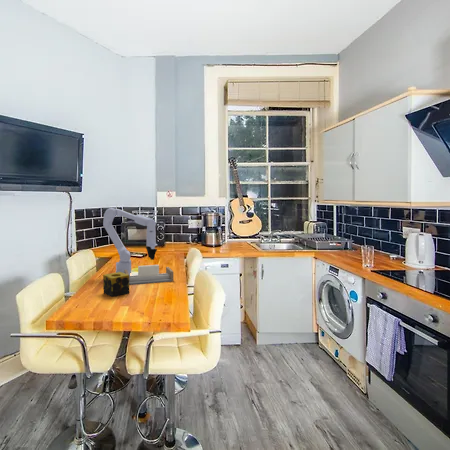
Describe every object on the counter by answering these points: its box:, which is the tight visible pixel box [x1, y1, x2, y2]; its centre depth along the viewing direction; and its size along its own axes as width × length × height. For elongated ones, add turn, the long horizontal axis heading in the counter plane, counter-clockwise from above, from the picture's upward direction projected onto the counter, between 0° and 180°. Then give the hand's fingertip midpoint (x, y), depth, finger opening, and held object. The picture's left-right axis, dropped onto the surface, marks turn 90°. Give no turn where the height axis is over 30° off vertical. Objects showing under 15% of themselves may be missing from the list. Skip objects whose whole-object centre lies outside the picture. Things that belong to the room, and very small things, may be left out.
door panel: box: [137, 264, 160, 277], centre depth 203 cm, size 12×2×8 cm, turn 112°
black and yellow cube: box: [102, 271, 130, 298], centre depth 176 cm, size 10×10×10 cm
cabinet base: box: [124, 266, 174, 286], centre depth 203 cm, size 27×14×6 cm, turn 112°
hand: (151, 258), depth 218 cm, fingers open, 7 cm apart
